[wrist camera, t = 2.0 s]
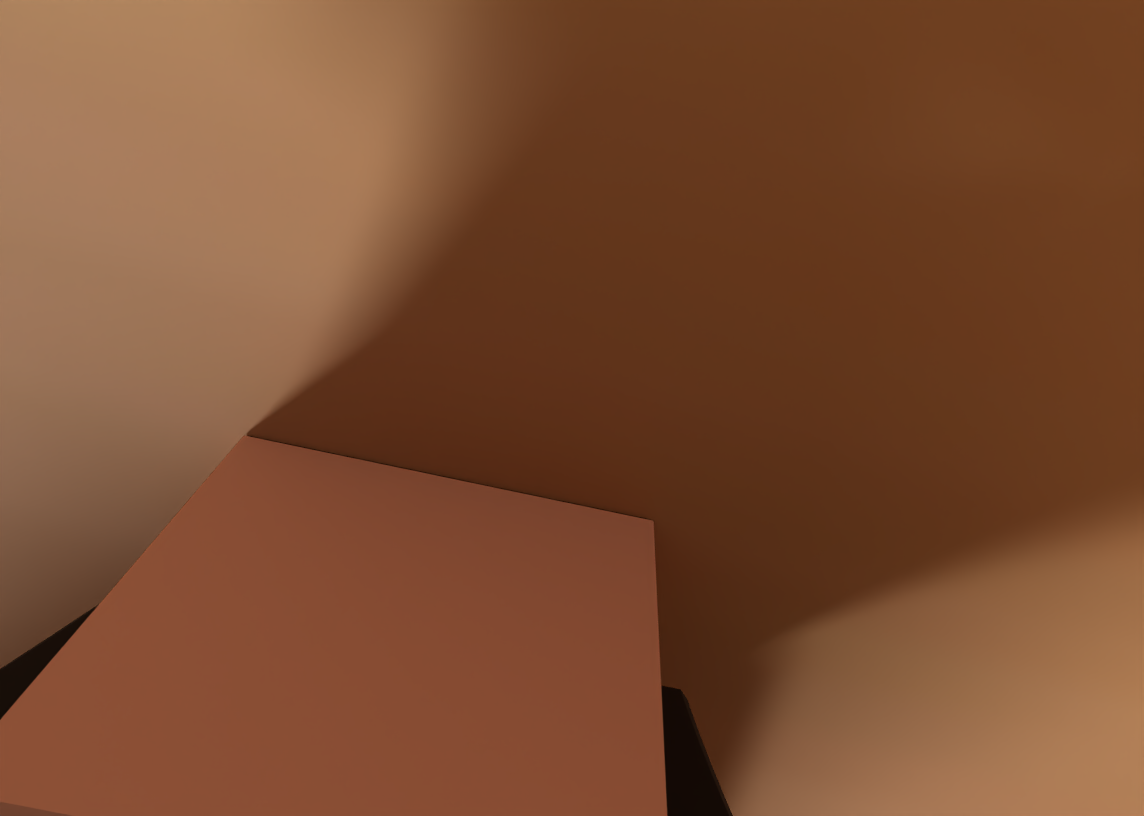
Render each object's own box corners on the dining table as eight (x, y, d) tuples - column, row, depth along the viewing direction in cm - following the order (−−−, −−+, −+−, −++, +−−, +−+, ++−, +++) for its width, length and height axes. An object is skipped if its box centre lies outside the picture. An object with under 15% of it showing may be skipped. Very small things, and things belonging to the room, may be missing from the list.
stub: (578, 769, 12) (550, 1221, 8) (234, 702, 12) (1, 1123, 8) (653, 521, 10) (672, 932, 6) (243, 434, 10) (-62, 791, 6)
